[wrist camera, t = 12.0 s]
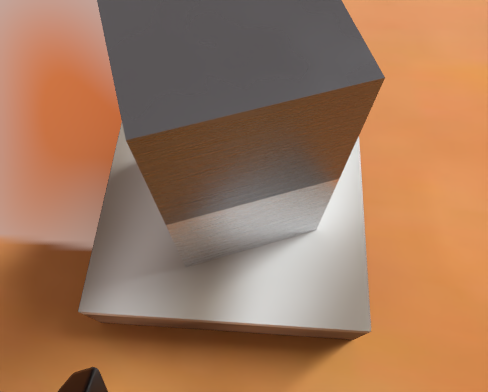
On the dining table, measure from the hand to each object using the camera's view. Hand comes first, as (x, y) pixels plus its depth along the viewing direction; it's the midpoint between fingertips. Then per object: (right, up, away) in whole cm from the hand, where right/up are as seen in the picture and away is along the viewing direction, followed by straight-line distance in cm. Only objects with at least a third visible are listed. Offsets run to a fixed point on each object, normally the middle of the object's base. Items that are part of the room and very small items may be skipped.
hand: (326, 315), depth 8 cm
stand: (-2, +1, +14) cm, 14 cm away
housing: (-2, +3, +11) cm, 12 cm away
